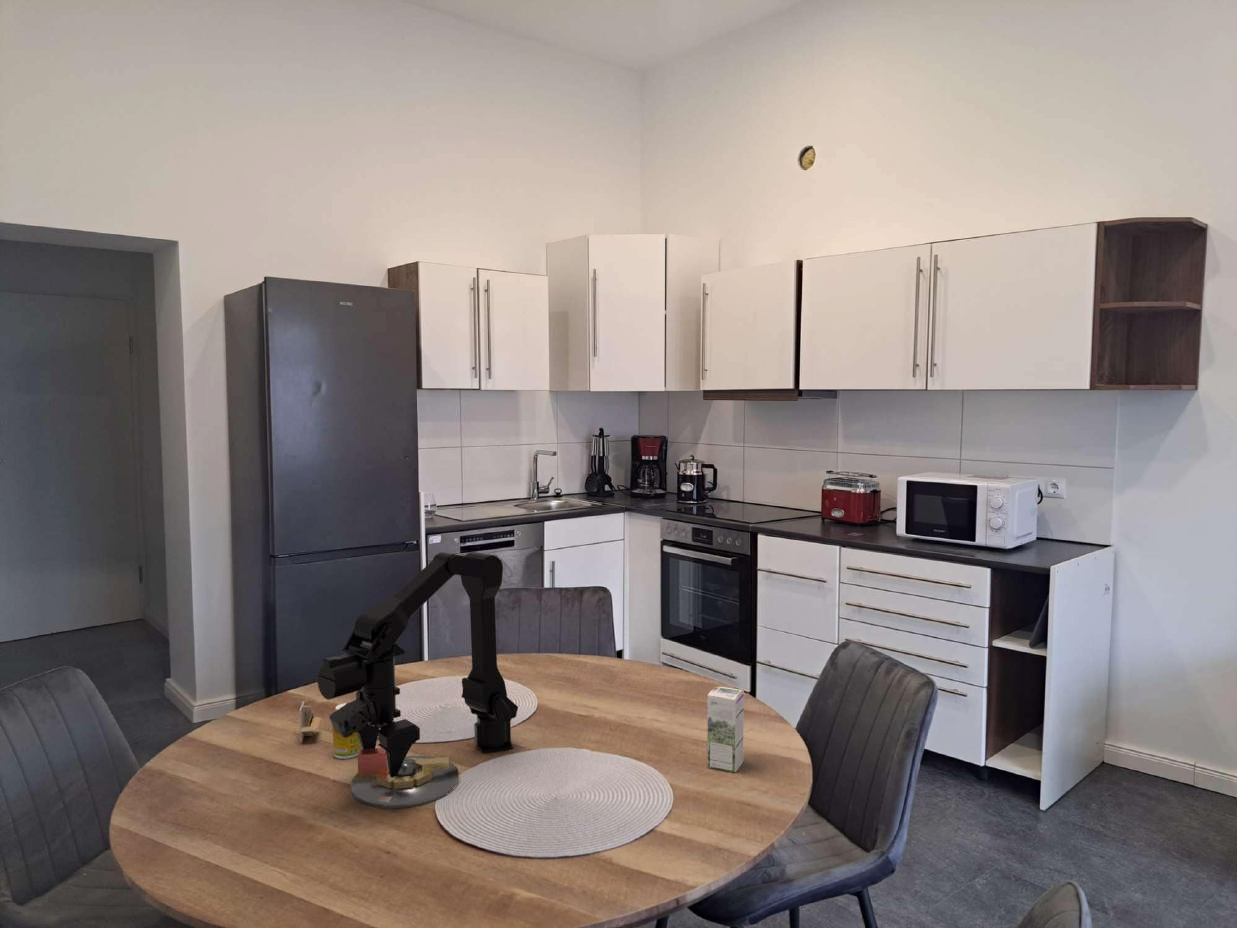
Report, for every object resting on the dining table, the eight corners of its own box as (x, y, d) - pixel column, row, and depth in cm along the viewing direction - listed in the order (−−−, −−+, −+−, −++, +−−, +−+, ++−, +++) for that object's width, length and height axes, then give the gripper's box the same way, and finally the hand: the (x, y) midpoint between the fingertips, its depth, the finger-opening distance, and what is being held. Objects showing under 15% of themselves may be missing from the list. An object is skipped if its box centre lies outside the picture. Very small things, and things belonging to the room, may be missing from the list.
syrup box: (744, 761, 164) (744, 688, 163) (735, 773, 158) (735, 698, 157) (716, 756, 166) (716, 684, 165) (706, 768, 161) (706, 693, 160)
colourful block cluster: (408, 755, 164) (407, 729, 164) (455, 771, 157) (455, 744, 156) (352, 779, 153) (351, 752, 153) (400, 798, 146) (399, 770, 146)
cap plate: (448, 755, 167) (448, 735, 167) (467, 796, 150) (467, 774, 149) (347, 771, 160) (347, 750, 160) (355, 816, 143) (355, 793, 143)
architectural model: (321, 733, 180) (320, 699, 180) (317, 746, 174) (316, 710, 173) (304, 735, 179) (303, 700, 179) (299, 747, 173) (298, 712, 172)
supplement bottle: (353, 760, 165) (351, 711, 165) (327, 758, 166) (326, 710, 166) (366, 749, 171) (365, 702, 170) (342, 747, 172) (340, 700, 171)
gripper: (312, 680, 152) (315, 764, 153) (359, 709, 138) (362, 801, 140) (370, 667, 160) (373, 747, 161) (420, 692, 146) (422, 780, 147)
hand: (381, 767), depth 152 cm, fingers open, 9 cm apart
